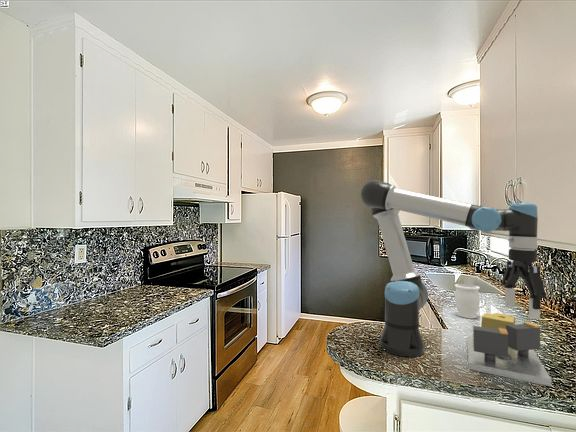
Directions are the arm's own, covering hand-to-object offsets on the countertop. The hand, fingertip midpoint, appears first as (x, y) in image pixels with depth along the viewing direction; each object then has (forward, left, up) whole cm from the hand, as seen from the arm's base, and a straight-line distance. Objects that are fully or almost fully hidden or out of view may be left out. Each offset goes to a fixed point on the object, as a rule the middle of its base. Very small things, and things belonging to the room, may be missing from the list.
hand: (521, 312), depth 102 cm
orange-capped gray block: (0, 0, -14) cm, 14 cm away
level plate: (-6, -4, -16) cm, 18 cm away
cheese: (-5, +16, -16) cm, 23 cm away
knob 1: (-10, -10, -14) cm, 20 cm away
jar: (-15, +47, -16) cm, 52 cm away
